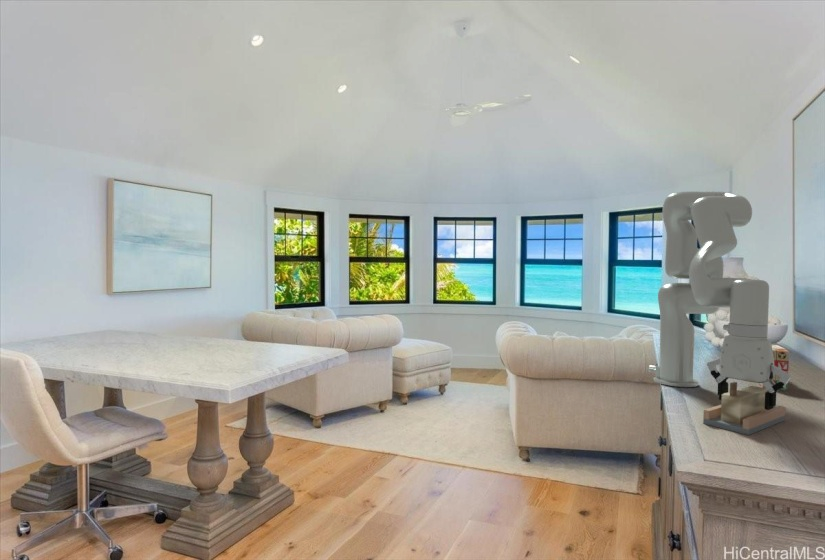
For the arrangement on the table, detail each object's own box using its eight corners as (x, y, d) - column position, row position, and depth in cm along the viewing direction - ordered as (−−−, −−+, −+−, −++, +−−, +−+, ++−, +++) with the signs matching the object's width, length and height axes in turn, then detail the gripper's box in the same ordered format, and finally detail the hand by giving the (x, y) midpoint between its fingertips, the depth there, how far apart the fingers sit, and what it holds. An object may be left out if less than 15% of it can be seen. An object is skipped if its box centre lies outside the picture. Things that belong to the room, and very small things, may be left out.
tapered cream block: (720, 420, 115) (722, 381, 114) (751, 409, 124) (752, 373, 124) (740, 424, 111) (741, 384, 111) (769, 413, 120) (771, 376, 120)
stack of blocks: (748, 375, 171) (749, 339, 171) (769, 377, 169) (771, 341, 169) (763, 388, 152) (764, 348, 152) (788, 391, 149) (789, 350, 149)
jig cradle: (703, 423, 116) (703, 409, 116) (741, 410, 127) (742, 398, 127) (748, 435, 108) (749, 420, 108) (785, 420, 119) (785, 407, 119)
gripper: (701, 328, 122) (699, 397, 123) (785, 337, 108) (782, 415, 108) (716, 326, 126) (714, 393, 127) (798, 335, 112) (795, 410, 113)
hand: (745, 403), depth 118 cm, fingers open, 9 cm apart
